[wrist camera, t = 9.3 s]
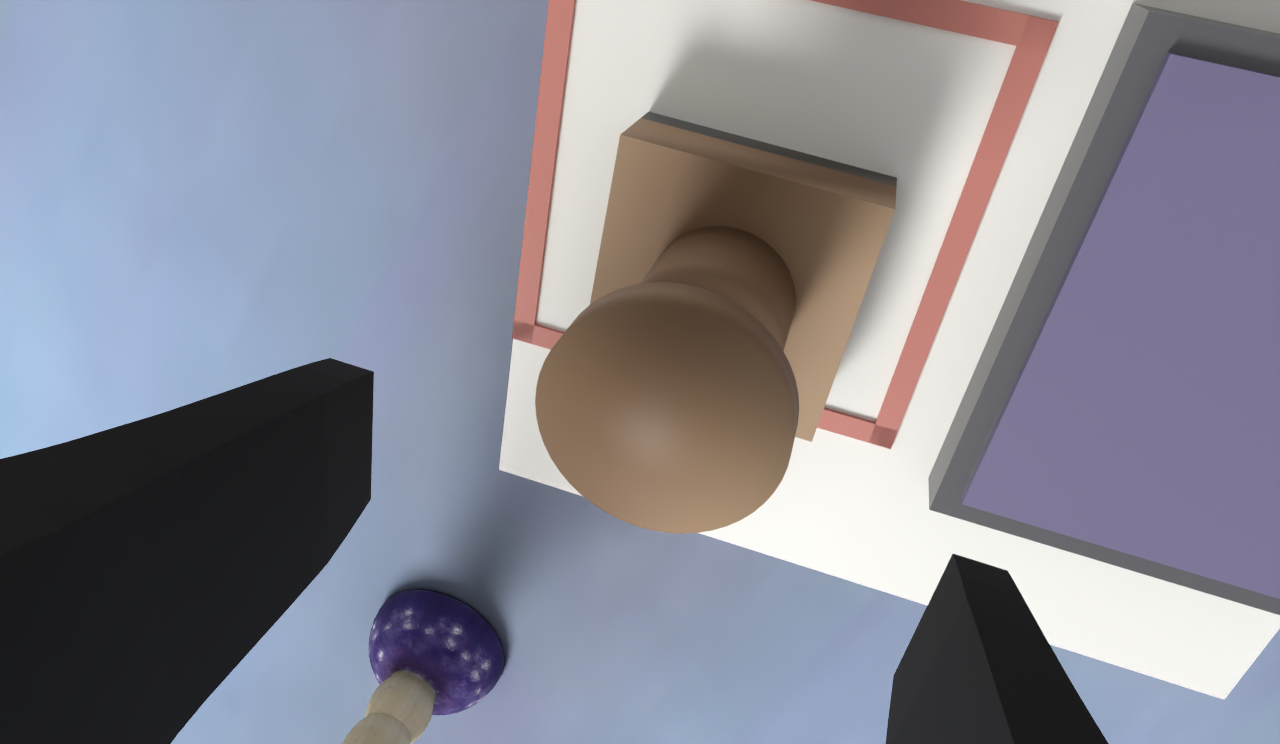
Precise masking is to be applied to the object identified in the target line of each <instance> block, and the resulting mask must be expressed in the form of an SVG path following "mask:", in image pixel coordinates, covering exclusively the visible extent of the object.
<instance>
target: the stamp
mask: <svg viewBox="0 0 1280 744" xmlns="http://www.w3.org/2000/svg"><path fill="white" fill-rule="evenodd" d="M896 188H897V178H896V177H893V176H889V175H885V174H881V173H878V172H874V171H870V170H866V169H863V168H859V167H855V166H851V165H848V164H844V163H840V162H836V161H833V160H829V159H825V158H821V157H818V156H814V155H810V154H806V153H803V152H799V151H795V150H791V149H788V148H784V147H780V146H776V145H773V144H769V143H765V142H761V141H758V140H754V139H750V138H746V137H743V136H739V135H735V134H731V133H728V132H724V131H720V130H716V129H713V128H709V127H705V126H701V125H698V124H694V123H690V122H686V121H683V120H679V119H675V118H671V117H668V116H664V115H660V114H656V113H653V112H647V113H646V114H645V115H644V116H642V117H641V118H640V119H639V120H638V121H636V122H635V123H634V124H633V125H631V126H630V127H629V128H628V129H626V130H625V131H624V132H623V133H622V134H620V138H619V144H618V150H617V155H616V161H615V166H614V172H613V178H612V183H611V189H610V194H609V200H608V206H607V211H606V217H605V222H604V228H603V234H602V239H601V245H600V250H599V256H598V262H597V267H596V273H595V278H594V284H593V290H592V295H591V301H590V305H589V306H588V307H587V308H586V309H585V310H583V311H582V312H581V313H580V314H579V315H578V316H577V318H576V319H575V320H574V321H573V322H572V324H571V325H570V326H569V327H568V329H567V330H566V331H565V332H564V334H563V335H562V336H561V337H560V339H559V340H558V341H557V342H556V344H555V345H554V346H553V347H552V349H551V351H550V352H549V354H548V356H547V357H546V359H545V361H544V363H543V366H542V368H541V371H540V373H539V377H538V382H537V386H536V397H535V407H536V418H537V422H538V427H539V431H540V434H541V437H542V440H543V443H544V445H545V447H546V449H547V451H548V453H549V455H550V457H551V459H552V461H553V462H554V464H555V465H556V467H557V468H558V470H559V471H560V472H561V474H562V475H563V476H564V477H565V479H566V480H567V481H568V482H569V483H570V484H571V485H572V486H573V487H574V488H575V489H576V490H577V491H578V492H579V493H580V494H581V495H582V496H583V497H585V498H586V499H587V500H588V501H590V502H591V503H592V504H594V505H595V506H597V507H598V508H600V509H601V510H603V511H605V512H606V513H608V514H610V515H612V516H614V517H616V518H618V519H620V520H622V521H625V522H627V523H630V524H632V525H635V526H638V527H642V528H646V529H649V530H654V531H660V532H666V533H681V534H683V533H700V532H706V531H712V530H716V529H719V528H723V527H726V526H729V525H731V524H733V523H736V522H738V521H740V520H742V519H744V518H745V517H747V516H749V515H750V514H752V513H753V512H755V511H756V510H757V509H758V508H759V507H761V506H762V505H763V504H764V503H765V502H766V501H767V500H768V499H769V498H770V497H771V496H772V494H773V493H774V492H775V490H776V489H777V487H778V486H779V484H780V483H781V481H782V479H783V477H784V475H785V472H786V470H787V468H788V465H789V461H790V457H791V453H792V448H793V444H794V439H795V437H797V438H801V439H804V440H807V441H810V442H812V440H813V437H814V435H815V432H816V429H817V426H818V423H819V421H820V418H821V415H822V412H823V409H824V407H825V404H826V401H827V398H828V396H829V393H830V390H831V387H832V384H833V382H834V379H835V376H836V373H837V370H838V368H839V365H840V362H841V359H842V357H843V354H844V351H845V348H846V345H847V343H848V340H849V337H850V334H851V331H852V329H853V326H854V323H855V320H856V318H857V315H858V312H859V309H860V306H861V304H862V301H863V298H864V295H865V292H866V290H867V287H868V284H869V281H870V278H871V276H872V273H873V270H874V267H875V265H876V262H877V259H878V256H879V253H880V251H881V248H882V245H883V242H884V239H885V237H886V234H887V231H888V228H889V226H890V223H891V220H892V217H893V214H894V212H895V206H896Z"/></svg>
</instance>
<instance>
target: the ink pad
mask: <svg viewBox="0 0 1280 744" xmlns="http://www.w3.org/2000/svg"><path fill="white" fill-rule="evenodd" d="M928 484H929V510H932V511H935V512H938V513H942V514H945V515H948V516H952V517H955V518H958V519H962V520H965V521H968V522H972V523H975V524H978V525H982V526H985V527H988V528H991V529H995V530H998V531H1001V532H1005V533H1008V534H1011V535H1015V536H1018V537H1021V538H1025V539H1028V540H1031V541H1035V542H1038V543H1041V544H1045V545H1048V546H1051V547H1055V548H1058V549H1061V550H1065V551H1068V552H1071V553H1075V554H1078V555H1081V556H1084V557H1088V558H1091V559H1094V560H1098V561H1101V562H1104V563H1108V564H1111V565H1114V566H1118V567H1121V568H1124V569H1128V570H1131V571H1134V572H1138V573H1141V574H1144V575H1148V576H1151V577H1154V578H1158V579H1161V580H1164V581H1167V582H1171V583H1174V584H1177V585H1181V586H1184V587H1187V588H1191V589H1194V590H1197V591H1201V592H1204V593H1207V594H1211V595H1214V596H1217V597H1221V598H1224V599H1227V600H1231V601H1234V602H1237V603H1241V604H1244V605H1247V606H1251V607H1254V608H1257V609H1260V610H1264V611H1267V612H1270V613H1274V614H1277V615H1280V34H1278V33H1273V32H1269V31H1264V30H1259V29H1254V28H1249V27H1245V26H1240V25H1235V24H1230V23H1226V22H1221V21H1216V20H1211V19H1207V18H1202V17H1197V16H1192V15H1188V14H1183V13H1178V12H1173V11H1168V10H1164V9H1159V8H1154V7H1149V6H1145V5H1140V4H1135V3H1132V5H1131V8H1130V10H1129V12H1128V15H1127V17H1126V19H1125V21H1124V24H1123V26H1122V28H1121V31H1120V33H1119V35H1118V38H1117V40H1116V42H1115V45H1114V47H1113V49H1112V52H1111V54H1110V56H1109V59H1108V61H1107V63H1106V66H1105V68H1104V70H1103V73H1102V75H1101V77H1100V80H1099V82H1098V84H1097V87H1096V89H1095V91H1094V94H1093V96H1092V98H1091V101H1090V103H1089V105H1088V108H1087V110H1086V112H1085V115H1084V117H1083V119H1082V122H1081V124H1080V126H1079V128H1078V131H1077V133H1076V135H1075V138H1074V140H1073V142H1072V145H1071V147H1070V149H1069V152H1068V154H1067V156H1066V159H1065V161H1064V163H1063V166H1062V168H1061V170H1060V173H1059V175H1058V177H1057V180H1056V182H1055V184H1054V187H1053V189H1052V191H1051V194H1050V196H1049V198H1048V201H1047V203H1046V205H1045V208H1044V210H1043V212H1042V215H1041V217H1040V219H1039V222H1038V224H1037V226H1036V229H1035V231H1034V233H1033V236H1032V238H1031V240H1030V242H1029V245H1028V247H1027V249H1026V252H1025V254H1024V256H1023V259H1022V261H1021V263H1020V266H1019V268H1018V270H1017V273H1016V275H1015V277H1014V280H1013V282H1012V284H1011V287H1010V289H1009V291H1008V294H1007V296H1006V298H1005V301H1004V303H1003V305H1002V308H1001V310H1000V312H999V315H998V317H997V319H996V322H995V324H994V326H993V329H992V331H991V333H990V336H989V338H988V340H987V343H986V345H985V347H984V350H983V352H982V354H981V356H980V359H979V361H978V363H977V366H976V368H975V370H974V373H973V375H972V377H971V380H970V382H969V384H968V387H967V389H966V391H965V394H964V396H963V398H962V401H961V403H960V405H959V408H958V410H957V412H956V415H955V417H954V419H953V422H952V424H951V426H950V429H949V431H948V433H947V436H946V438H945V440H944V443H943V445H942V447H941V450H940V452H939V454H938V457H937V459H936V461H935V464H934V466H933V468H932V470H931V473H930V475H929V477H928Z"/></svg>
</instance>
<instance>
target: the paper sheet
mask: <svg viewBox="0 0 1280 744" xmlns="http://www.w3.org/2000/svg"><path fill="white" fill-rule="evenodd" d="M1132 3H1135V4H1140V5H1145V6H1149V7H1154V8H1159V9H1164V10H1168V11H1173V12H1178V13H1183V14H1188V15H1192V16H1197V17H1202V18H1207V19H1211V20H1216V21H1221V22H1226V23H1230V24H1235V25H1240V26H1245V27H1249V28H1254V29H1259V30H1264V31H1269V32H1273V33H1278V34H1280V0H549V5H548V14H547V23H546V32H545V41H544V51H543V60H542V69H541V78H540V87H539V96H538V105H537V115H536V124H535V133H534V142H533V151H532V160H531V169H530V179H529V188H528V197H527V206H526V215H525V224H524V233H523V243H522V252H521V261H520V270H519V279H518V288H517V297H516V307H515V316H514V325H513V334H512V338H513V347H512V356H511V365H510V374H509V383H508V392H507V401H506V410H505V420H504V429H503V438H502V447H501V456H500V465H499V470H502V471H505V472H508V473H511V474H514V475H517V476H521V477H524V478H527V479H530V480H533V481H536V482H540V483H543V484H546V485H549V486H552V487H555V488H558V489H562V490H565V491H568V492H571V493H574V494H577V495H581V494H580V493H579V492H578V491H577V490H576V489H575V488H574V487H573V486H572V485H571V484H570V483H569V482H568V481H567V480H566V479H565V477H564V476H563V475H562V474H561V472H560V471H559V470H558V468H557V467H556V465H555V464H554V462H553V461H552V459H551V457H550V455H549V453H548V451H547V449H546V447H545V445H544V443H543V440H542V437H541V434H540V431H539V427H538V422H537V418H536V407H535V397H536V386H537V382H538V377H539V373H540V371H541V368H542V366H543V363H544V361H545V359H546V357H547V356H548V354H549V352H550V351H551V349H552V347H553V346H554V345H555V344H556V342H557V341H558V340H559V339H560V337H561V336H562V335H563V334H564V332H565V331H566V330H567V329H568V327H569V326H570V325H571V324H572V322H573V321H574V320H575V319H576V318H577V316H578V315H579V314H580V313H581V312H582V311H583V310H585V309H586V308H587V307H588V306H589V305H590V301H591V295H592V290H593V284H594V278H595V273H596V267H597V262H598V256H599V250H600V245H601V239H602V234H603V228H604V222H605V217H606V211H607V206H608V200H609V194H610V189H611V183H612V178H613V172H614V166H615V161H616V155H617V150H618V144H619V138H620V134H622V133H623V132H624V131H625V130H626V129H628V128H629V127H630V126H631V125H633V124H634V123H635V122H636V121H638V120H639V119H640V118H641V117H642V116H644V115H645V114H646V113H647V112H653V113H656V114H660V115H664V116H668V117H671V118H675V119H679V120H683V121H686V122H690V123H694V124H698V125H701V126H705V127H709V128H713V129H716V130H720V131H724V132H728V133H731V134H735V135H739V136H743V137H746V138H750V139H754V140H758V141H761V142H765V143H769V144H773V145H776V146H780V147H784V148H788V149H791V150H795V151H799V152H803V153H806V154H810V155H814V156H818V157H821V158H825V159H829V160H833V161H836V162H840V163H844V164H848V165H851V166H855V167H859V168H863V169H866V170H870V171H874V172H878V173H881V174H885V175H889V176H893V177H896V178H897V188H896V206H895V212H894V214H893V217H892V220H891V223H890V226H889V228H888V231H887V234H886V237H885V239H884V242H883V245H882V248H881V251H880V253H879V256H878V259H877V262H876V265H875V267H874V270H873V273H872V276H871V278H870V281H869V284H868V287H867V290H866V292H865V295H864V298H863V301H862V304H861V306H860V309H859V312H858V315H857V318H856V320H855V323H854V326H853V329H852V331H851V334H850V337H849V340H848V343H847V345H846V348H845V351H844V354H843V357H842V359H841V362H840V365H839V368H838V370H837V373H836V376H835V379H834V382H833V384H832V387H831V390H830V393H829V396H828V398H827V401H826V404H825V407H824V409H823V412H822V415H821V418H820V421H819V423H818V426H817V429H816V432H815V435H814V437H813V440H812V442H810V441H807V440H804V439H801V438H797V437H795V439H794V444H793V448H792V453H791V457H790V461H789V465H788V468H787V470H786V472H785V475H784V477H783V479H782V481H781V483H780V484H779V486H778V487H777V489H776V490H775V492H774V493H773V494H772V496H771V497H770V498H769V499H768V500H767V501H766V502H765V503H764V504H763V505H762V506H761V507H759V508H758V509H757V510H756V511H755V512H753V513H752V514H750V515H749V516H747V517H745V518H744V519H742V520H740V521H738V522H736V523H733V524H731V525H729V526H726V527H723V528H719V529H716V530H712V531H706V532H700V534H704V535H707V536H710V537H713V538H716V539H719V540H722V541H726V542H729V543H732V544H735V545H738V546H741V547H745V548H748V549H751V550H754V551H757V552H760V553H763V554H767V555H770V556H773V557H776V558H779V559H782V560H786V561H789V562H792V563H795V564H798V565H801V566H804V567H808V568H811V569H814V570H817V571H820V572H823V573H827V574H830V575H833V576H836V577H839V578H842V579H845V580H849V581H852V582H855V583H858V584H861V585H864V586H868V587H871V588H874V589H877V590H880V591H883V592H886V593H890V594H893V595H896V596H899V597H902V598H905V599H909V600H912V601H915V602H918V603H921V604H924V605H927V606H928V604H929V602H930V600H931V598H932V595H933V593H934V591H935V589H936V587H937V585H938V583H939V581H940V579H941V577H942V575H943V573H944V571H945V569H946V566H947V564H948V562H949V560H950V558H951V556H952V554H956V555H959V556H963V557H966V558H969V559H972V560H975V561H979V562H982V563H985V564H988V565H991V566H995V567H998V568H1001V569H1004V570H1007V571H1008V572H1009V574H1010V575H1011V577H1012V579H1013V581H1014V582H1015V584H1016V586H1017V587H1018V589H1019V591H1020V593H1021V595H1022V596H1023V598H1024V600H1025V602H1026V604H1027V605H1028V607H1029V609H1030V611H1031V612H1032V614H1033V616H1034V618H1035V620H1036V621H1037V623H1038V625H1039V627H1040V629H1041V630H1042V632H1043V634H1044V636H1045V638H1046V639H1047V641H1048V643H1049V644H1050V645H1054V646H1057V647H1060V648H1063V649H1066V650H1069V651H1072V652H1076V653H1079V654H1082V655H1085V656H1088V657H1091V658H1095V659H1098V660H1101V661H1104V662H1107V663H1110V664H1113V665H1117V666H1120V667H1123V668H1126V669H1129V670H1132V671H1136V672H1139V673H1142V674H1145V675H1148V676H1151V677H1154V678H1158V679H1161V680H1164V681H1167V682H1170V683H1173V684H1177V685H1180V686H1183V687H1186V688H1189V689H1192V690H1195V691H1199V692H1202V693H1205V694H1208V695H1211V696H1214V697H1218V698H1221V699H1225V698H1226V697H1227V695H1228V694H1229V693H1230V692H1231V690H1232V689H1233V688H1234V686H1235V685H1236V684H1237V683H1238V681H1239V680H1240V679H1241V677H1242V676H1243V675H1244V674H1245V672H1246V671H1247V670H1248V668H1249V667H1250V666H1251V665H1252V663H1253V662H1254V661H1255V659H1256V658H1257V657H1258V656H1259V654H1260V653H1261V652H1262V650H1263V649H1264V648H1265V647H1266V645H1267V644H1268V643H1269V641H1270V640H1271V639H1272V638H1273V636H1274V635H1275V634H1276V632H1277V631H1278V630H1279V629H1280V615H1277V614H1274V613H1270V612H1267V611H1264V610H1260V609H1257V608H1254V607H1251V606H1247V605H1244V604H1241V603H1237V602H1234V601H1231V600H1227V599H1224V598H1221V597H1217V596H1214V595H1211V594H1207V593H1204V592H1201V591H1197V590H1194V589H1191V588H1187V587H1184V586H1181V585H1177V584H1174V583H1171V582H1167V581H1164V580H1161V579H1158V578H1154V577H1151V576H1148V575H1144V574H1141V573H1138V572H1134V571H1131V570H1128V569H1124V568H1121V567H1118V566H1114V565H1111V564H1108V563H1104V562H1101V561H1098V560H1094V559H1091V558H1088V557H1084V556H1081V555H1078V554H1075V553H1071V552H1068V551H1065V550H1061V549H1058V548H1055V547H1051V546H1048V545H1045V544H1041V543H1038V542H1035V541H1031V540H1028V539H1025V538H1021V537H1018V536H1015V535H1011V534H1008V533H1005V532H1001V531H998V530H995V529H991V528H988V527H985V526H982V525H978V524H975V523H972V522H968V521H965V520H962V519H958V518H955V517H952V516H948V515H945V514H942V513H938V512H935V511H932V510H929V484H928V477H929V475H930V473H931V470H932V468H933V466H934V464H935V461H936V459H937V457H938V454H939V452H940V450H941V447H942V445H943V443H944V440H945V438H946V436H947V433H948V431H949V429H950V426H951V424H952V422H953V419H954V417H955V415H956V412H957V410H958V408H959V405H960V403H961V401H962V398H963V396H964V394H965V391H966V389H967V387H968V384H969V382H970V380H971V377H972V375H973V373H974V370H975V368H976V366H977V363H978V361H979V359H980V356H981V354H982V352H983V350H984V347H985V345H986V343H987V340H988V338H989V336H990V333H991V331H992V329H993V326H994V324H995V322H996V319H997V317H998V315H999V312H1000V310H1001V308H1002V305H1003V303H1004V301H1005V298H1006V296H1007V294H1008V291H1009V289H1010V287H1011V284H1012V282H1013V280H1014V277H1015V275H1016V273H1017V270H1018V268H1019V266H1020V263H1021V261H1022V259H1023V256H1024V254H1025V252H1026V249H1027V247H1028V245H1029V242H1030V240H1031V238H1032V236H1033V233H1034V231H1035V229H1036V226H1037V224H1038V222H1039V219H1040V217H1041V215H1042V212H1043V210H1044V208H1045V205H1046V203H1047V201H1048V198H1049V196H1050V194H1051V191H1052V189H1053V187H1054V184H1055V182H1056V180H1057V177H1058V175H1059V173H1060V170H1061V168H1062V166H1063V163H1064V161H1065V159H1066V156H1067V154H1068V152H1069V149H1070V147H1071V145H1072V142H1073V140H1074V138H1075V135H1076V133H1077V131H1078V128H1079V126H1080V124H1081V122H1082V119H1083V117H1084V115H1085V112H1086V110H1087V108H1088V105H1089V103H1090V101H1091V98H1092V96H1093V94H1094V91H1095V89H1096V87H1097V84H1098V82H1099V80H1100V77H1101V75H1102V73H1103V70H1104V68H1105V66H1106V63H1107V61H1108V59H1109V56H1110V54H1111V52H1112V49H1113V47H1114V45H1115V42H1116V40H1117V38H1118V35H1119V33H1120V31H1121V28H1122V26H1123V24H1124V21H1125V19H1126V17H1127V15H1128V12H1129V10H1130V8H1131V5H1132ZM581 496H582V495H581Z"/></svg>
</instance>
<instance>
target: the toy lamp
mask: <svg viewBox="0 0 1280 744" xmlns="http://www.w3.org/2000/svg"><path fill="white" fill-rule="evenodd" d="M369 658H370V663H371V666H372V669H373V672H374V674H375V676H376V678H377V680H378V682H379V683H380V686H379V687H378V688H377V689H376V691H375V692H374V694H373V695H372V697H371V699H370V701H369V704H368V707H367V711H366V718H364V719H363V720H361V721H360V722H359V723H357V724H356V725H355V726H354V727H353V729H352V730H351V731H350V732H349V734H348V735H347V736H346V738H345V740H344V742H343V744H411V743H413V742H414V741H415V740H416V739H417V738H418V737H419V736H420V735H421V734H422V733H423V731H424V730H425V728H426V727H427V725H428V723H429V721H430V719H431V716H432V715H448V714H453V713H457V712H460V711H463V710H465V709H467V708H469V707H471V706H473V705H475V704H476V703H477V702H479V701H480V700H481V699H482V698H483V697H485V696H486V695H487V694H488V693H489V692H490V691H491V690H492V689H493V687H494V686H495V685H496V683H497V682H498V680H499V678H500V676H501V675H502V673H503V669H504V660H505V658H504V654H503V649H502V646H501V643H500V641H499V639H498V636H497V635H496V633H495V631H494V630H493V629H492V628H491V626H490V625H489V624H488V623H487V621H486V620H485V619H484V618H483V617H481V616H480V615H479V614H478V613H477V612H476V611H474V610H473V609H472V608H470V607H469V606H468V605H467V604H464V603H462V602H461V601H459V600H456V599H454V598H452V597H450V596H447V595H444V594H441V593H437V592H434V591H426V590H411V591H404V592H400V593H398V594H396V595H394V596H391V597H390V598H389V599H388V600H387V601H386V602H385V603H384V604H383V605H382V607H381V608H380V610H379V612H378V614H377V616H376V618H375V619H374V623H373V626H372V629H371V632H370V637H369Z"/></svg>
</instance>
